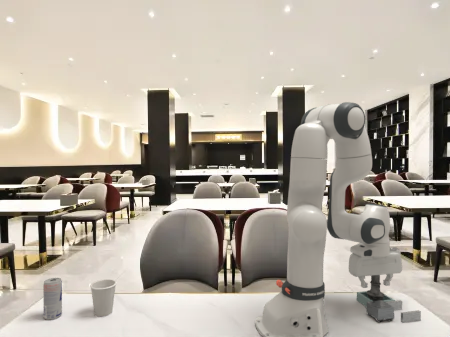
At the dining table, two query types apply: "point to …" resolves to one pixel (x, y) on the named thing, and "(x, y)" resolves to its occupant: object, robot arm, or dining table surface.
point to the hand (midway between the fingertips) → (375, 286)
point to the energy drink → (52, 298)
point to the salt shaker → (375, 289)
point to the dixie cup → (103, 296)
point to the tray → (363, 299)
